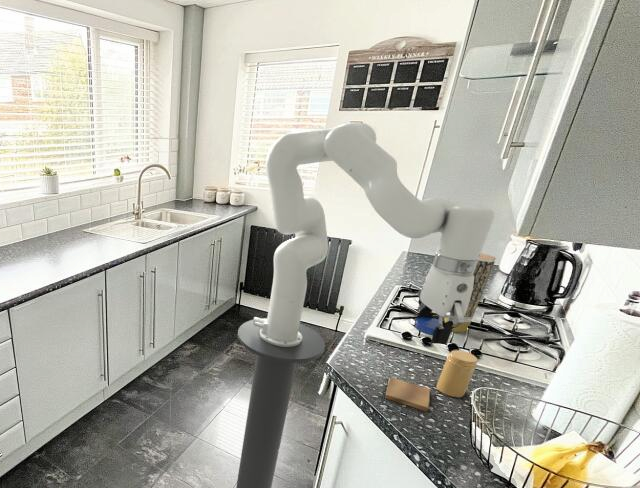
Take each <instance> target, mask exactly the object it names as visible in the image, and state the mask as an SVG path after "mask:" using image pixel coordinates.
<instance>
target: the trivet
mask: <svg viewBox="0 0 640 488" xmlns="http://www.w3.org/2000/svg"><path fill="white" fill-rule="evenodd" d="M430 395H431V389H430V388H427V387H426V386H425V387H424V386H421V385H418V384H414V383H411V382H407V381H404V380H400V379H397V378H394V377H389V379H388V382H387V385H386V390H385V396H384V399H386V400H389V401H393V402H395V403H397V404H401V405H405V406H408V407H411V408H414V409H417V410H421V411H424V412H428V410H429V408H430Z"/></svg>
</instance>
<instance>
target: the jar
mask: <svg viewBox="0 0 640 488" xmlns="http://www.w3.org/2000/svg"><path fill="white" fill-rule="evenodd" d="M478 361H479V359H478V358H477V356H475V355H474V354H473V353H470V352H468V351H464V350H459V349H458V350H456V349H455V350H451V351H450V353H449V354H448V355H447V356H446V359H445V362H444V365H443V367H442V369H441V372H440V374H439V378H438V380H437V382H436V385H435V386H436V387H435V388H436V389H437V390H438V391H439V392H441V393H442V394H443V395H446V396H449V397H451V398H462V397H464V396H465V395H466V393H467V389H468V388H469V385H470V383H471V380H472V378H473V375H474V373H475V371H476V369H477V366H478V364H477V363H478Z"/></svg>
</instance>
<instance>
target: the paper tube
mask: <svg viewBox="0 0 640 488" xmlns="http://www.w3.org/2000/svg"><path fill="white" fill-rule="evenodd" d="M496 260H497V258H496V257H495V256H493V255H490V254H487V253H481V254H480V257H479V260H478V262H477V265H476V268H475V270H474V273H473V275H474V284H473V290H472V294H471V298H470V301H469V305H468V308H467V311H466V313H465V315H464V320H465V322H464V323H463V324H461V325H459V326H458V327H455V329H454V330H452V331H451V332H454V333H458V334H459V333H460V334H461V333H466V332H468V330H467V328H468V326H469V327H470V326H471V323H472V320H473V318H474V316H475V313H476V311H477V308H478V305H479V303H480V300H481V299H482V295H483V293H484V290H485V288H486V285H487V283H488V280H489V278H490V275H491V273H492V271H493V268H494V266H495V263H496ZM446 315H450V312H449V313H448V312H447V314H446ZM448 321H449V318H445V323H446V322H448ZM468 329H469V328H468Z"/></svg>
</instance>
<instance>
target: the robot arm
mask: <svg viewBox="0 0 640 488" xmlns="http://www.w3.org/2000/svg"><path fill="white" fill-rule="evenodd" d="M324 162H334V163H335V164H336V165H337V166H338V167H339V168H340V169H342V170H343V171H344V172H345V173H346V174H347V175H348V176H349V177H350V178H352V179H353V181H354V182H356V183H357V184H358V185H359V186H360V187H361V188H362V189H363V191H364V194H365V196H366V198H367V200H368V202H369V203H370V205H371V206H372V208H373V210H374V211H375V212H376V213H377V214H378V215H379V217H381V218H382V219H383V220H384V221H385V222H386V223H387V224H388V225H389V226H390V227H391V228H392V229H394V231H396V232H397V233H399V234H400V235H402V236H404V237H406V238H409V239H422V238H424V237H427V236H430V235H431V234H436V233H441V236H440V239H439V242H438V246H437V248H436V252H435V255H434V258H433V260H432V264H431V267H430V269H429V270H428V273H427V275H426V277H425V280H424V282H423V285H422V287H421V289H419V290H418V291H417V295H418V301H417V302H418V307H417V315H416V318H415V321H414V324H413V327H414V328H415V323H416V321H417V319H418V318H421V317H428V318H433V317H434V313H435V314H437V316H438V320H439V327H436V328H435V331H434V334H433V336H432V337H431V340H430V342H431V343H432V344H433V345H435V344H437V345H439V344H440V345H446V344H448V341H449V338H450V336H451V333H452V332H453V331H452V330H454V329H455V327H458V326H459V325H461V324H463V323H464V322H465V320H464V315H465V313H466V311H467V308H468V305H469V301H470V298H471V294H472V290H473V284H474V275H473V273H474V270H475V268H476V265H477V262H478V260H479V257H480V254H482V251H483V248H484V246H485V243H486V242H487V241H486V240H487V238H488V235H489V233H490V230H491V227H492V224H493V222H494V218H495V212H494V210H493V209H492V208H490V207H488V206H484V205H478V204H463V203H459V202H454V201H450V200H447V199H443V198H439V197H430V198H429V197H428V198H426V199H422V200H420V199H419V198H418V197H417V196H416V195H414V194H413V193H412V192H411V191H410V190H409V189H408V188H407V187H406V186H405V184H404V183H402V181H401V179H400V178H399V174H398V162H397V160H396V158H394V156H392V155H391V154H389V153H388V152H387V151H386V150H385V149H384V148H382V147H381V146H380V145H379V144H378V143H377V134H376V132H375V130H374V129H373V128H372V126H370V125H368V124H366V123H363V122H353V123H352V122H351V123H343V124H339V125H337V126H335V127H330V128H321V129H320V128H319V129H309V130H308V129H307V130H294V131H290V132H287V133H285V134H283V135H281V136H280V137H278V138H277V139H276V140H275V141H274V142H273V143H272V145H271V146H270V148H269V149H268V152H267V155H266V158H265V172H266V178H267V182H268V186H269V193H270V201H271V211H272V218H273V223H274V227H275V229H276V231H277V232H278V233H279V234H282V235H287V236H289V235H295V237H293V238H290V239H288V240H285V241H283V242H282V243H280V244H279V245H278V246H277V248H276V249H275V251H274V254H273V278H272V285H271V291H270V299H269V304H268V311H267V316H266V318H267V319H260V318H261V317H257V316H254V317H253V319H254V320H253V319H252V320H253V323H255V324H254V326H257V327H261V330H260V336H261V338H262V339H263V340H264V341H266V342H268V343H270V344H272V345H276V346H280V347H293V346H297V345H299V344H300V343H301V342H302V335H301V334H300V333H299V332H298V330H299V325H300V324H301V319H302V314H303V309H304V304H305V299H306V294H307V288H308V277H307V271H308V269H309V268H311V267H314V266H316V265H319V264H321V263H322V262H323V261H324V260H325V259H326V257H327V255H328V251H329V241H328V233H327V232H328V231H327V224H326V223H327V222H326V215H325V211H324V208H323V206H322V204H321V203H320V201H319V200H317V199H316V198H314V197H312V196H305V194H304V187H303V186H304V185H303V181H302V178H301V176H300V173H299V172H298V169H297V167H299V166H300V165H306V164H315V163H324ZM447 312H448V313H449V312H450V315H446V314H447ZM445 318H449V321H448V322H446V323H445Z"/></svg>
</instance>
